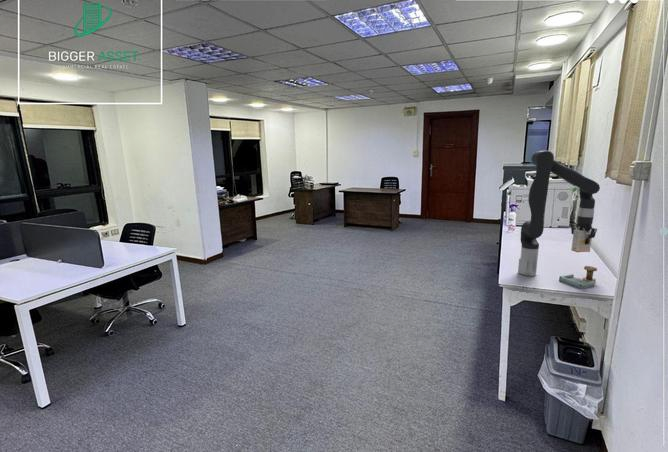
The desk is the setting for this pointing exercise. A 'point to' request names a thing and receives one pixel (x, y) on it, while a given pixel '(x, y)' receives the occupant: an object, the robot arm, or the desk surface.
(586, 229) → the robot arm
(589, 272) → the stool
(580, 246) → the supplement box
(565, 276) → the tray
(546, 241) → the desk surface
